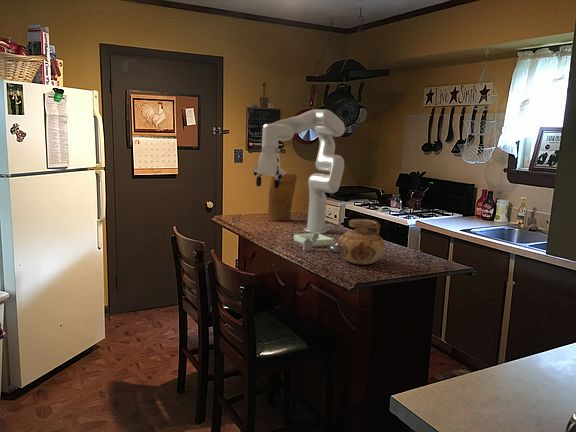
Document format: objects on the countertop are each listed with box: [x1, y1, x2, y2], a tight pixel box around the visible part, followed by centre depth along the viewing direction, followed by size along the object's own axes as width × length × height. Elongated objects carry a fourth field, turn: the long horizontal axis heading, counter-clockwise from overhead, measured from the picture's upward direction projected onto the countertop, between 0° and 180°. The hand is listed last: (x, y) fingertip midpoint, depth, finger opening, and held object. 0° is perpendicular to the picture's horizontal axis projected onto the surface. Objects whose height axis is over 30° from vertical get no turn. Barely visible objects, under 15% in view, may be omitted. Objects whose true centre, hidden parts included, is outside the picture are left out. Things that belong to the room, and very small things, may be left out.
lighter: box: [302, 232, 320, 252], centre depth 219 cm, size 7×2×8 cm, turn 115°
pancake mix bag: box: [266, 173, 298, 222], centre depth 286 cm, size 7×19×28 cm, turn 120°
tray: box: [293, 233, 335, 248], centre depth 234 cm, size 14×14×3 cm
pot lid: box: [328, 242, 341, 255], centre depth 220 cm, size 8×8×4 cm
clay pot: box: [337, 218, 385, 266], centre depth 203 cm, size 19×19×20 cm
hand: (267, 187), depth 229 cm, fingers open, 9 cm apart
